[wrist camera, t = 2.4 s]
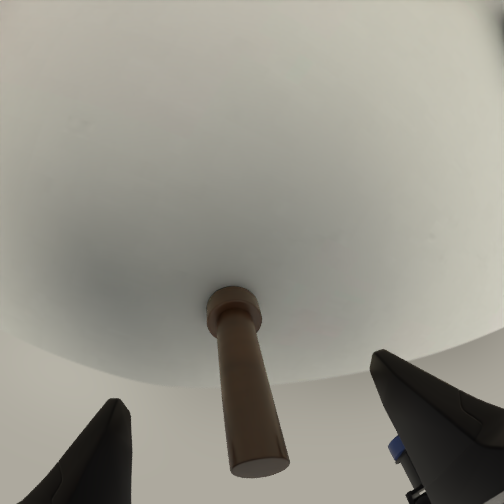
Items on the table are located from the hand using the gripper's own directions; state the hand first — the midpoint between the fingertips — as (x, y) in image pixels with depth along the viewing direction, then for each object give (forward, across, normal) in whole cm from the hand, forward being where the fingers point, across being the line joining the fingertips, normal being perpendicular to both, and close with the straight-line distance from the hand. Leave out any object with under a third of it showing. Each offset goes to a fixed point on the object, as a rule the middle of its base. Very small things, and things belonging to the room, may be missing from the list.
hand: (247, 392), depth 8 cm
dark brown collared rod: (+5, 0, 0) cm, 5 cm away
